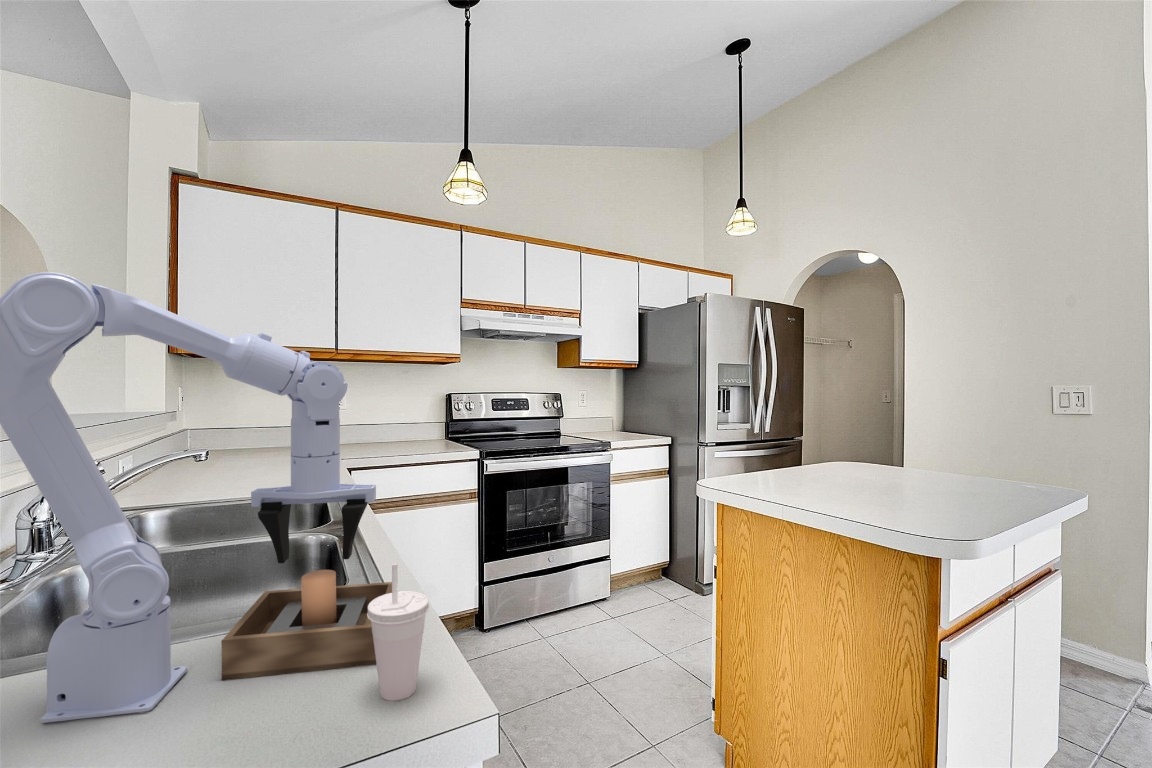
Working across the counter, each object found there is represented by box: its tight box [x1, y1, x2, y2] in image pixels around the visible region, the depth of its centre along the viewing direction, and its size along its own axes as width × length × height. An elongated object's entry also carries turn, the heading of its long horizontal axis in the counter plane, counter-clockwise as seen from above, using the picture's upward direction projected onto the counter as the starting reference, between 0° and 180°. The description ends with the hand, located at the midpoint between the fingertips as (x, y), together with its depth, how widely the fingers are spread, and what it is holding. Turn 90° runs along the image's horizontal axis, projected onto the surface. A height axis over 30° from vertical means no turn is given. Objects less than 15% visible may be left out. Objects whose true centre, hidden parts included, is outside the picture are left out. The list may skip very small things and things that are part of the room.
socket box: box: [221, 581, 392, 681], centre depth 69 cm, size 17×14×4 cm
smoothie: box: [367, 562, 430, 702], centre depth 58 cm, size 6×6×14 cm
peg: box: [300, 569, 337, 626], centre depth 69 cm, size 4×4×8 cm
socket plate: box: [266, 596, 367, 633], centre depth 69 cm, size 10×10×3 cm
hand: (315, 558), depth 70 cm, fingers open, 7 cm apart
